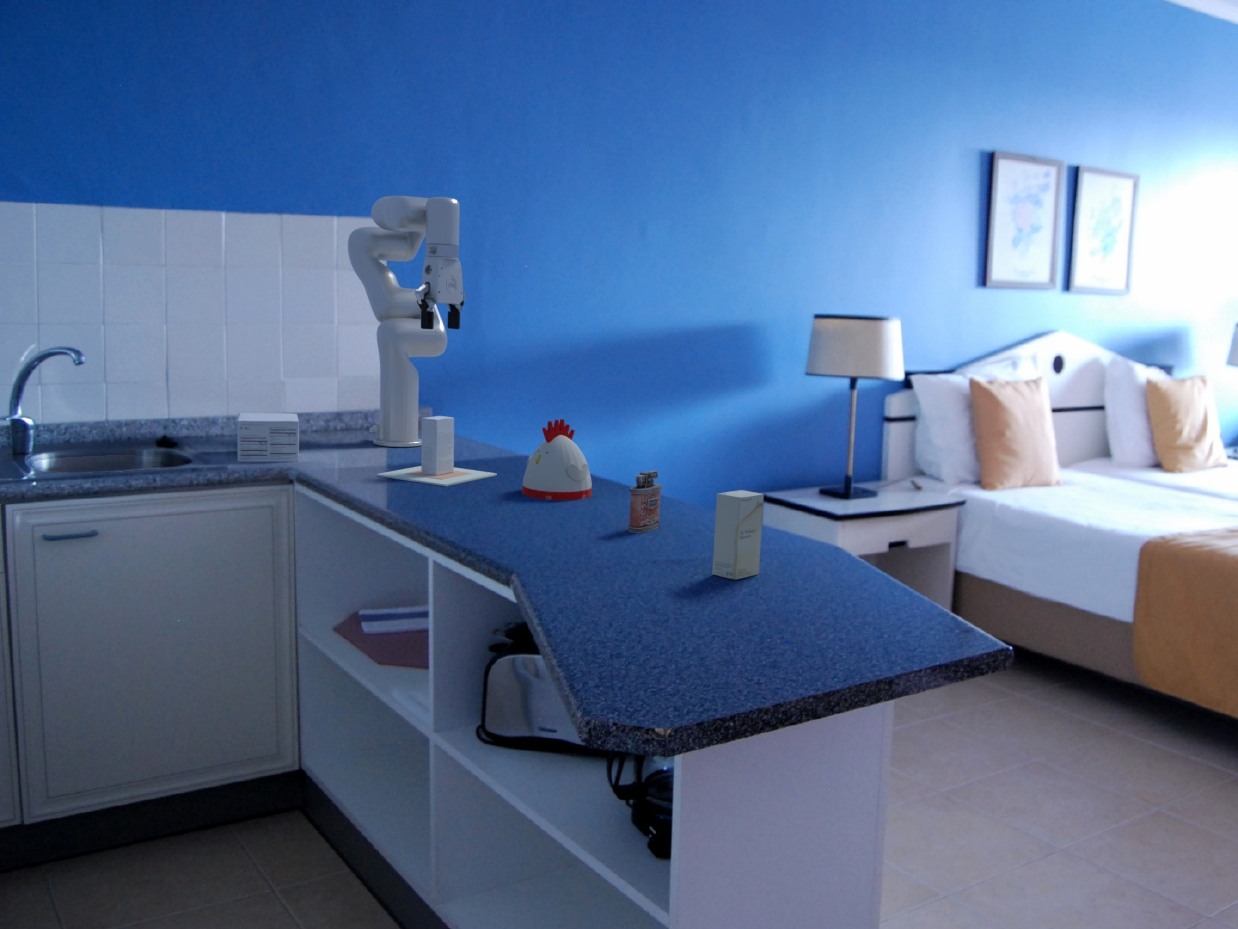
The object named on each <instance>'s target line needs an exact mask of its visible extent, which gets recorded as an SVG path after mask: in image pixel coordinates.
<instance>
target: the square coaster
mask: <svg viewBox="0 0 1238 929" xmlns="http://www.w3.org/2000/svg"><path fill="white" fill-rule="evenodd" d="M497 474H498V473H495V472H488V471H482V470H481V471H480V470H475V469H470V468H469V469H468V468H460V467H455V466H454V472H451V473H446V474H442V475H437V476H434V475H428V474H422V473H421V465H419V466H414V467H412V466H411V467H407V468H403V469H396V470H392V471H386V472H380V473H377V474H376V476H377V477H381V478H387V479H395V480H401V481H406V482H407V481H409V482H413V483H414V482H416V483H420V484H426V485H428V484H429V485H433V486H434V485H435V486H441V487H448V486H453V485H459V484H462V483H463V484H464V483H468V482H472V481H476V480H477V481H478V480H480V479H481V480H482V479H486V478H491V477H495V476H497Z"/></svg>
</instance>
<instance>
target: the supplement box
mask: <svg viewBox="0 0 1238 929" xmlns="http://www.w3.org/2000/svg"><path fill="white" fill-rule="evenodd" d="M299 421H300V420H299V417H298V414H297V413H293V412H292V413H290V412H289V413H288V412H287V413H286V412H283V413H281V412H276V413H275V412H273V413H272V412H239V413H238V420H237V423H236V424H237V425H236V426H237V429H236V430H237V431H236V432H237V433H236V435H237V438H236V439H237V452H236V453H237V454H236V455H237V462H239V463H241V462H242V463H298V462H299V452H300V451H299V450H300V448H299V447H300V422H299Z"/></svg>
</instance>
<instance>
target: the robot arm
mask: <svg viewBox="0 0 1238 929" xmlns="http://www.w3.org/2000/svg"><path fill="white" fill-rule="evenodd" d="M370 214H371V218H372V221H373V222H374V223H375V225H376V226H362V227H358V228H355V229H354V230H353V231H351V232H350V234H349V236H348V239H347V253H348V257H349V262H350V264H351V267H352V270H353V271H354V272H355V274H356V276H357V278H358V279H359V280H360V282H361V284H362V285H363V287H364V290H365V294H366V296H367V299H368V301H369V304H370V308H371V309H372V310H371V311H372V313H373V315H374V317H375V319H376V320H377V321H378V323H379V325H378V326H377V329H376V342H377V349H378V355H379V378H380V379H379V382H380V383H379V384H380V385H379V424H376V425H375V424H373V425H372V427H370V428H369V429H368V430H369V433H371V434H376V436H375V437H374V438H373V440H372V441H373V444H374V445H377V446H382V447H391V448H392V447H393V448H394V447H395V448H411V447H419V446H420V447H421V446H422V437H421V438H420V437H419V395H420V394H419V392H420V391H419V389H420V384H419V383H420V381H419V380H420V379H419V378H420V376H419V371H418V369H417V368H416V367H415V365H414V364H413V363H412V361H411V359H410V358H434V357H439V356H441V355H443V354H444V353H445V352H446V349H447V347H448V335H447V329H449V330H460V329H461V312H463V307H464V305H465V300H466V297H467V293H466V292H465V291H464V286H463V285H464V284H463V272H462V271H463V270H462V265H461V264H462V263H461V260H459V259H460V258H459V254H460V253H459V251H460V201H458V200H457V199H456V198H453V197H446V196H434V197H433V196H432V197H430V198H429V197H421V196H420V197H419V196H418V197H417V196H408V195H387V196H383V197H380V198H379V199H377V200H376V201H375V202H374V203H373V205H372V207H371V211H370ZM424 240H425V241H424ZM423 242H425V247H424V248H425V249H424V252H425V253H424V255H425V256H424V261H423V267H422V275H421V286H420V287H418V288H407V287H406V288H405V287H402V286H400V285H399V282H398V279H397V276H396V275H395V273H393V271H392V270H391V269H390V268H389V267H388V266H386V265H385V264H383V262H381V261H385V262H386V261H387V262H388V261H389V262H399V263H400V262H401V263H402V262H403V263H405V262H411V261H413V259H414V258H415V257H416V256H417V254H418V252H419V250H420V248H421V246H422V243H423ZM437 304H446V306H447V308H448V310H449V311H447V329H446V327H445V324H444V321H443V319H442V316H441V314H440V312H439V309H438V305H437Z"/></svg>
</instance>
